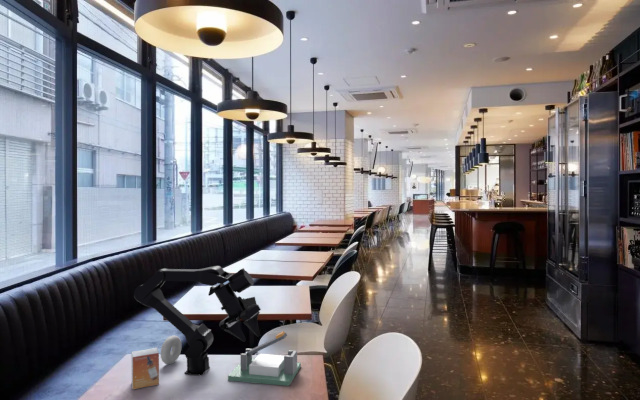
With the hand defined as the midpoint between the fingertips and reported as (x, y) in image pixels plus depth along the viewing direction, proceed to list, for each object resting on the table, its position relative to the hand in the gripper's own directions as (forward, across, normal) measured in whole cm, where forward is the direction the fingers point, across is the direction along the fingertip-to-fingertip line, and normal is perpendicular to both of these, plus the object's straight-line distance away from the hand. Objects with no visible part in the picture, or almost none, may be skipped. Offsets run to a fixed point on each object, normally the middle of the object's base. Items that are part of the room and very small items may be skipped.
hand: (251, 338), depth 141 cm
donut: (-6, +30, +15) cm, 34 cm away
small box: (-6, +22, +29) cm, 36 cm away
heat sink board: (+13, +1, +1) cm, 13 cm away
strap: (+5, -2, -1) cm, 6 cm away
